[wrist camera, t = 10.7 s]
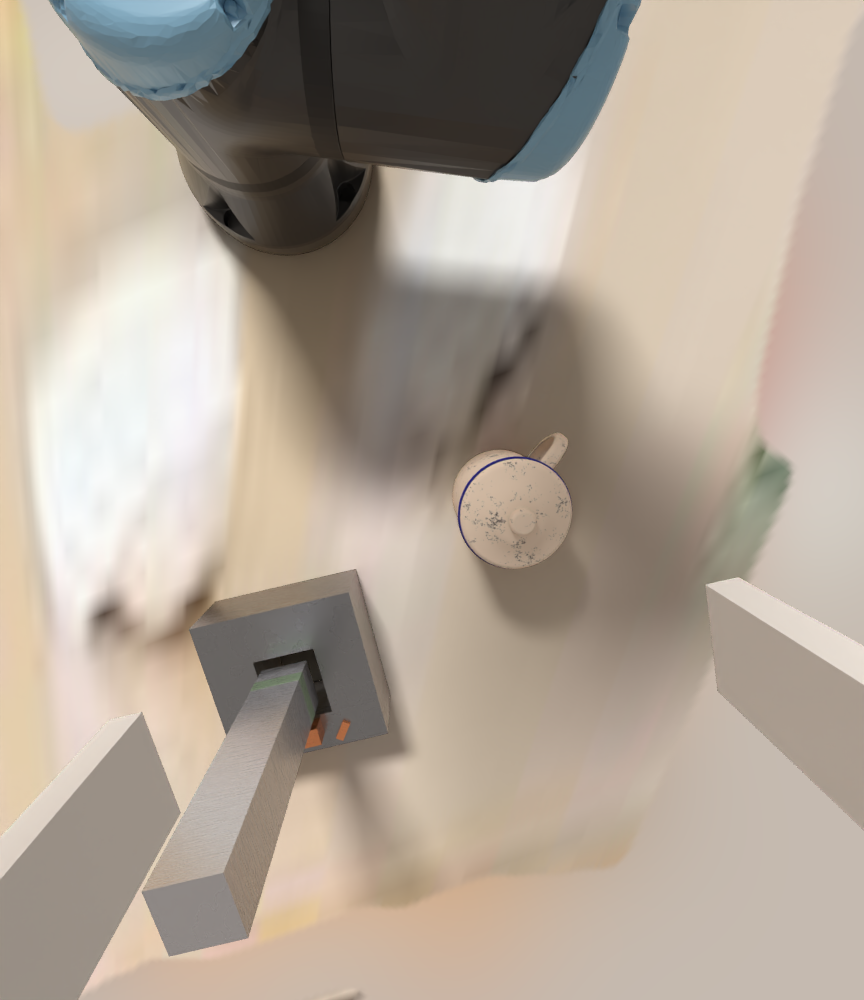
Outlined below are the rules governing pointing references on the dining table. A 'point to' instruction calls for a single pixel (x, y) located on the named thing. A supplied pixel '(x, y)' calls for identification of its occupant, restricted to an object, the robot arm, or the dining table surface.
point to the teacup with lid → (514, 504)
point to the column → (234, 818)
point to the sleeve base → (294, 628)
